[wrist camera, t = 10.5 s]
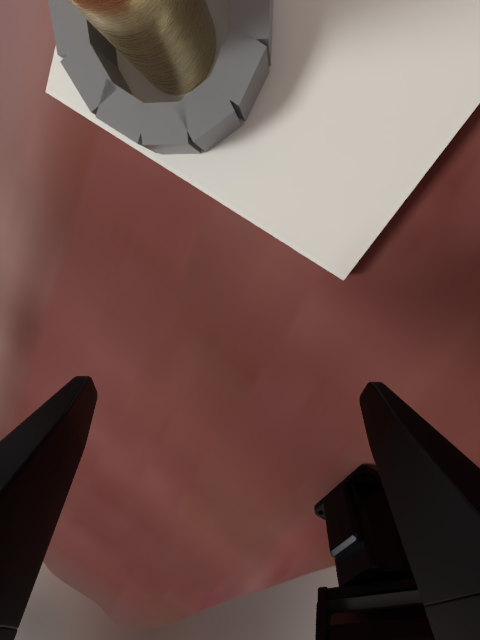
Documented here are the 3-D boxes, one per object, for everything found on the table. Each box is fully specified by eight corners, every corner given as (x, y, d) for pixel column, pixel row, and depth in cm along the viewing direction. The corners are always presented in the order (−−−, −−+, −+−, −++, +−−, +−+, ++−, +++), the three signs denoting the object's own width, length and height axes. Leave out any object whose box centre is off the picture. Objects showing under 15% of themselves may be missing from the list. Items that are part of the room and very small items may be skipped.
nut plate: (595, -63, 11) (720, -174, 8) (339, 276, 17) (352, 290, 14) (180, -385, 10) (131, -668, 7) (62, 100, 16) (7, 72, 13)
